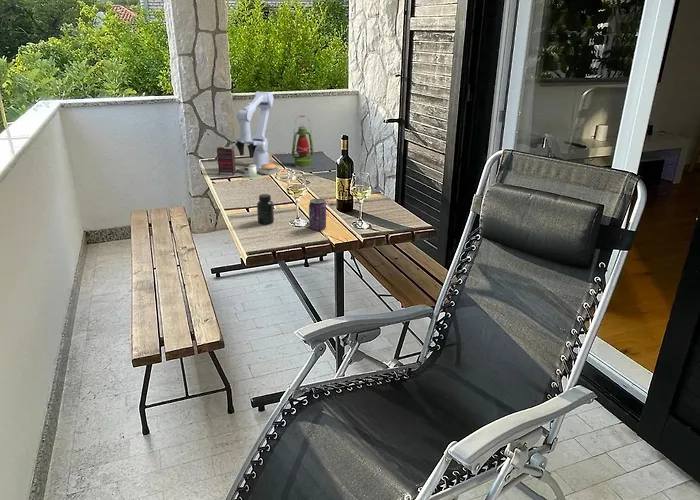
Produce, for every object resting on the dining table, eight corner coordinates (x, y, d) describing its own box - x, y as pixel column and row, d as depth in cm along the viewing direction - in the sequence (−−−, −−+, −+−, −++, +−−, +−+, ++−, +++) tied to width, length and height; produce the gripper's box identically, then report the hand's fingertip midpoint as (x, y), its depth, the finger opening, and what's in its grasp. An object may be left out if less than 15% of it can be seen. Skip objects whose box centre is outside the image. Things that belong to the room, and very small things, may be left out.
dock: (245, 169, 312) (244, 166, 311) (257, 172, 306) (257, 169, 306) (232, 172, 304) (232, 169, 303) (245, 175, 299) (245, 172, 298)
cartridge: (252, 174, 298) (251, 163, 296) (258, 176, 296) (257, 164, 294) (247, 176, 295) (246, 165, 292) (253, 177, 293) (252, 166, 290)
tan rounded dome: (268, 170, 310) (268, 163, 308) (279, 172, 305) (279, 165, 304) (258, 172, 303) (258, 165, 302) (269, 175, 299) (269, 168, 297)
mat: (252, 174, 301) (252, 173, 301) (264, 177, 297) (264, 176, 297) (241, 177, 295) (241, 176, 294) (253, 180, 290) (253, 179, 290)
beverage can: (309, 225, 226) (308, 198, 222) (325, 225, 227) (325, 198, 222) (309, 231, 220) (309, 203, 215) (326, 230, 220) (326, 203, 216)
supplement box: (236, 174, 300) (234, 146, 294) (233, 176, 296) (231, 148, 290) (221, 174, 301) (219, 146, 295) (218, 176, 297) (216, 148, 290)
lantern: (312, 163, 329) (311, 113, 317) (316, 167, 319) (316, 116, 308) (290, 164, 325) (288, 114, 313) (293, 168, 316) (292, 117, 304)
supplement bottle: (264, 218, 233) (263, 192, 228) (277, 221, 230) (276, 195, 225) (254, 223, 228) (253, 196, 223) (267, 226, 224) (266, 199, 220)
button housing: (268, 170, 310) (268, 165, 308) (278, 173, 305) (278, 167, 304) (259, 173, 303) (258, 168, 302) (269, 175, 299) (269, 170, 298)
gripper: (230, 131, 297) (232, 155, 302) (249, 134, 290) (251, 159, 295) (240, 129, 303) (241, 153, 308) (258, 132, 295) (259, 157, 300)
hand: (246, 156), depth 302 cm, fingers open, 7 cm apart
